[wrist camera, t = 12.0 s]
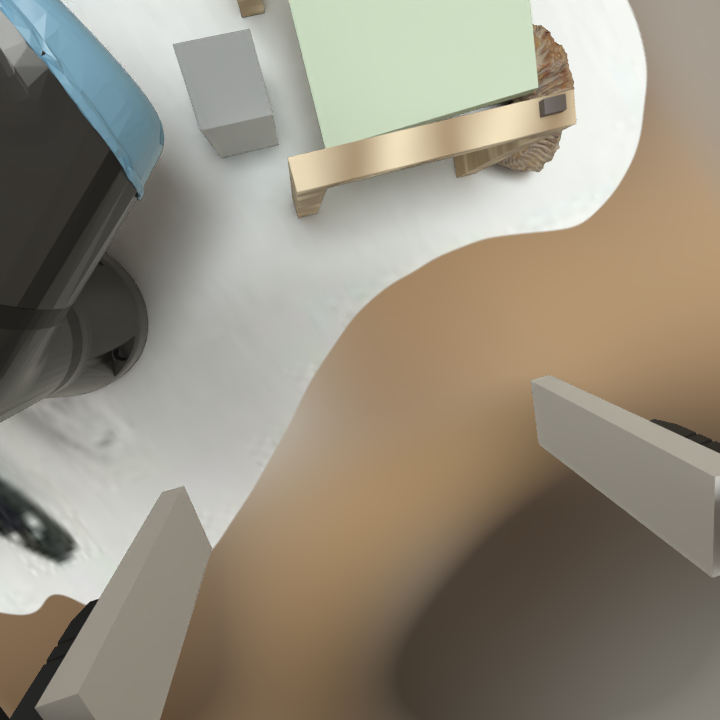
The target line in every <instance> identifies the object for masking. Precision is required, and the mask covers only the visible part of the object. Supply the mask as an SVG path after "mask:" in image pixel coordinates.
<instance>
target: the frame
mask: <svg viewBox="0 0 720 720" xmlns="http://www.w3.org/2000/svg"><path fill="white" fill-rule="evenodd" d="M237 1H238V4H239V8H240V12H241V15H242V17H247V16H252V15H257V14H262V13H264V6H263V0H237ZM574 124H576V113H575V99H574V89H573V90H569V91H564V92H560V93H556V94H552V95H548V96H543V97H539V98H535V99H531V100H527V101H522V102H518V103H514V104H510V105H506V106H502V107H497V108H493V109H489V110H485V111H481V112H476V113H472V114H468V115H464V116H460V117H455V118H451V119H447V120H443V121H439V122H434V123H430V124H426V125H422V126H418V127H414V128H409V129H405V130H401V131H397V132H393V133H388V134H384V135H380V136H376V137H372V138H367V139H363V140H359V141H355V142H351V143H346V144H342V145H338V146H334V147H330V148H326V149H321V150H317V151H313V152H309V153H305V154H300V155H296V156H292V157H288V165H289V173H290V182H291V190H292V198H293V201H294V205H295V209H296V212H297V216H298V218H300V217H304V216H308V215H312V214H316V213H318V210H319V208H320V205H321V202H322V200H323V197H324V194H325V192H326V189H327V188H329V187H333V186H337V185H341V184H345V183H349V182H353V181H357V180H362V179H366V178H370V177H374V176H378V175H382V174H386V173H390V172H394V171H398V170H402V169H406V168H410V167H414V166H418V165H422V164H426V163H430V162H434V161H438V160H442V159H446V158H450V157H454V162H455V169H456V175H457V178H458V177H462V176H466V175H470V174H474V173H477V172H479V171H481V170H483V169H485V168H487V167H489V166H491V165H493V164H495V163H497V162H499V161H501V160H503V159H505V158H507V157H509V156H511V155H513V154H515V153H517V152H519V151H521V150H523V149H525V148H527V147H529V146H531V145H533V144H536V143H538V142H540V141H542V140H544V139H546V138H548V137H550V136H552V135H554V134H556V133H558V132H560V131H562V130H564V129H566V128H568V127H570V126H572V125H574Z"/></svg>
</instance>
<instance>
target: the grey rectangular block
mask: <svg viewBox="0 0 720 720" xmlns="http://www.w3.org/2000/svg"><path fill="white" fill-rule="evenodd" d="M173 47H174V50H175V54H176V57H177V60H178V63H179V66H180V69H181V72H182V75H183V78H184V81H185V84H186V87H187V91H188V94H189V97H190V100H191V103H192V106H193V109H194V112H195V115H196V118H197V121H198V125H199V128H200V131H201V132H202V133H203V135H204V136H205V137H206V138H207V140H208V141H209V142H210V144H211V145H212V146H213V148H214V149H215V150H216V151H217V153H218V154H219V155H220V157H221V158H224V157H228V156H233V155H237V154H241V153H246V152H250V151H254V150H259V149H263V148H267V147H272V146H276V145H278V139H277V134H276V129H275V123H274V118H273V113H272V109H271V106H270V102H269V98H268V95H267V91H266V87H265V84H264V80H263V76H262V73H261V69H260V65H259V61H258V58H257V54H256V50H255V47H254V43H253V39H252V36H251V32H250V29H246V30H241V31H236V32H231V33H226V34H221V35H216V36H211V37H206V38H201V39H196V40H192V41H187V42H182V43H177V44H173Z"/></svg>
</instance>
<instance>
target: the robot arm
mask: <svg viewBox="0 0 720 720" xmlns="http://www.w3.org/2000/svg"><path fill="white" fill-rule="evenodd" d="M163 145H164V133H163V128H162V124H161V121H160V119H159V117H158V115H157V112H156V111H155V109H154V107H153V106H152V104H151V103H150V101H149V100H148V98H147V97H146V95H145V94H144V93H143V91H142V90H141V89H140V87H139V86H138V85H137V84H136V83H135V81H134V80H133V79H132V78H131V76H130V75H129V74H128V73H127V72H126V71H125V69H124V68H123V67H122V66H121V65H120V64H119V62H118V61H117V60H116V59H115V58H114V57H113V56H112V55H111V53H110V52H109V51H108V50H107V49H106V48H105V47H104V46H103V45H102V44H101V43H100V41H99V40H98V39H97V38H96V37H95V36H94V35H93V34H92V33H91V32H90V31H89V30H88V29H87V28H86V27H85V26H84V25H83V23H82V22H81V21H80V20H79V19H78V18H77V17H76V16H75V15H74V14H73V13H72V12H71V11H70V10H69V9H68V8H67V7H66V6H65V5H64V4H63V3H62V2H61V1H60V0H0V422H2V421H4V420H6V419H8V418H9V417H11V416H13V415H15V414H17V413H18V412H20V411H22V410H24V409H26V408H27V407H29V406H31V405H33V404H35V403H36V402H38V401H40V400H42V399H43V398H55V397H69V396H77V395H82V394H86V393H90V392H93V391H96V390H98V389H100V388H103V387H105V386H106V385H108V384H110V383H111V382H113V381H115V380H116V379H118V378H119V377H121V376H122V375H123V374H125V373H126V372H127V371H128V370H129V369H130V368H131V367H132V366H133V365H134V364H135V362H136V361H137V359H138V358H139V356H140V354H141V352H142V350H143V348H144V345H145V342H146V338H147V331H148V318H147V312H146V307H145V303H144V300H143V298H142V295H141V293H140V291H139V289H138V287H137V285H136V284H135V282H134V281H133V279H132V278H131V277H130V275H129V274H128V273H127V272H126V270H125V269H124V268H123V267H122V266H121V265H120V264H119V263H117V262H116V261H115V260H114V259H113V258H111V257H110V256H109V255H107V254H106V253H105V251H106V250H107V248H108V246H109V244H110V243H111V241H112V239H113V238H114V236H115V234H116V233H117V231H118V229H119V228H120V226H121V224H122V223H123V221H124V219H125V218H126V216H127V214H128V213H129V211H130V209H131V208H132V206H133V204H134V202H135V201H136V199H137V200H141V198H142V197H143V195H144V185H145V183H146V181H147V179H148V177H149V175H150V173H151V171H152V170H153V168H154V166H155V164H156V162H157V160H158V158H159V156H160V154H161V152H162V150H163ZM531 386H532V394H533V401H534V410H535V418H536V425H537V433H538V441H539V444H540V445H541V446H542V447H543V448H545V449H546V450H547V451H549V452H550V453H551V454H552V455H554V456H555V457H556V458H558V459H559V460H560V461H562V462H563V463H564V464H565V465H567V466H568V467H569V468H571V469H572V470H573V471H575V472H576V473H577V474H578V475H580V476H581V477H582V478H584V479H585V480H586V481H588V482H589V483H590V484H592V485H593V486H594V487H595V488H597V489H598V490H599V491H600V492H602V493H603V494H604V495H606V496H607V497H608V498H610V499H611V500H612V501H614V502H615V503H616V504H617V505H619V506H620V507H621V508H623V509H624V510H625V511H626V512H628V513H629V514H630V515H632V516H633V517H634V518H636V519H637V520H638V521H639V522H641V523H642V524H643V525H645V526H646V527H647V528H649V529H650V530H651V531H652V532H654V533H655V534H657V535H658V536H659V537H660V538H661V539H663V540H664V541H665V542H667V543H668V544H669V545H671V546H672V547H673V548H674V549H676V550H677V551H678V552H680V553H681V554H682V555H684V556H685V557H686V558H687V559H689V560H690V561H691V562H693V563H694V564H695V565H697V566H698V567H699V568H700V569H702V570H703V571H704V572H706V573H707V574H708V575H710V576H711V577H712V578H713V577H716V576H718V575H720V443H718V442H716V441H715V442H713V441H712V440H711V439H709V438H707V437H705V436H703V435H700V434H698V435H697V434H696V433H695V432H693V431H691V430H689V429H687V428H684V427H682V426H679V425H677V424H674V423H669V422H665V421H660V420H656V419H653V420H650V421H648V420H646V419H644V418H642V417H639V416H637V415H635V414H633V413H631V412H629V411H626V410H624V409H622V408H620V407H618V406H616V405H613V404H611V403H609V402H607V401H604V400H603V399H600V398H598V397H596V396H594V395H592V394H590V393H587V392H585V391H583V390H581V389H579V388H577V387H574V386H572V385H570V384H568V383H566V382H564V381H561V380H559V379H557V378H555V377H553V376H550V375H548V376H545V377H541V378H538V379H535V380H531ZM211 549H212V547H211V545H210V543H209V541H208V538H207V536H206V534H205V532H204V529H203V527H202V525H201V523H200V521H199V518H198V516H197V514H196V512H195V509H194V507H193V505H192V503H191V501H190V498H189V496H188V494H187V492H186V489H185V487H184V486H182V487H179V488H175V489H172V490H169V491H165V492H162V493H161V495H160V497H159V498H158V500H157V502H156V504H155V505H154V507H153V509H152V510H151V512H150V514H149V515H148V517H147V519H146V520H145V522H144V524H143V526H142V527H141V529H140V531H139V532H138V534H137V536H136V537H135V539H134V541H133V542H132V544H131V546H130V548H129V549H128V551H127V553H126V554H125V556H124V558H123V559H122V561H121V563H120V564H119V566H118V568H117V570H116V571H115V573H114V575H113V576H112V578H111V580H110V581H109V583H108V585H107V586H106V588H105V590H104V592H103V593H102V595H101V597H100V598H99V599H97V600H94V601H91V602H89V603H88V604H87V605H86V606H85V608H84V609H83V610H82V611H81V612H80V613H79V614H78V615H77V616H76V617H75V618H74V619H73V620H72V621H71V623H70V624H69V626H68V628H67V629H66V630H65V632H64V634H63V635H62V637H61V638H60V640H59V642H58V646H57V647H55V648H54V650H53V651H52V653H51V654H50V656H49V657H48V659H47V664H46V665H43V667H42V669H41V670H40V672H39V673H38V675H37V676H36V678H35V680H34V681H33V683H32V684H31V686H30V688H29V689H28V691H27V692H26V694H25V695H24V697H23V699H22V700H21V702H20V704H19V705H18V707H17V708H16V710H15V711H14V713H13V715H12V716H11V718H10V719H9V718H8V716H7V715H6V714H5V712H4V711H3V710H2V708H1V707H0V720H160V717H161V713H162V710H163V707H164V704H165V700H166V697H167V694H168V690H169V687H170V684H171V681H172V677H173V674H174V671H175V668H176V664H177V661H178V658H179V655H180V651H181V648H182V645H183V641H184V638H185V634H186V631H187V628H188V625H189V622H190V618H191V615H192V612H193V608H194V605H195V601H196V599H197V595H198V592H199V589H200V585H201V582H202V579H203V575H204V572H205V569H206V566H207V562H208V559H209V556H210V553H211Z"/></svg>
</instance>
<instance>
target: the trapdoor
mask: <svg viewBox="0 0 720 720" xmlns="http://www.w3.org/2000/svg"><path fill="white" fill-rule="evenodd" d="M289 4H290V8H291V12H292V16H293V20H294V24H295V28H296V32H297V36H298V40H299V45H300V49H301V53H302V57H303V61H304V65H305V69H306V73H307V77H308V81H309V85H310V89H311V93H312V97H313V101H314V105H315V109H316V113H317V117H318V121H319V125H320V129H321V134H322V138H323V142H324V146H325V149H326V148H330V147H334V146H338V145H342V144H346V143H351V142H355V141H359V140H363V139H367V138H372V137H376V136H380V135H384V134H388V133H393V132H397V131H401V130H405V129H409V128H414V127H418V126H422V125H426V124H429V123H433V122H436V121H439V120H443V119H446V118H450V117H453V116H456V115H460V114H463V113H467V112H470V111H473V110H477V109H480V108H484V107H487V106H490V105H494V104H497V103H501V102H504V101H507V100H511V99H514V98H518V97H521V96H524V95H528V94H531V93H533V92H534V91H535V90H536V89H537V88H538V77H537V66H536V56H535V46H534V35H533V25H532V15H531V4H530V0H289Z"/></svg>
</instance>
